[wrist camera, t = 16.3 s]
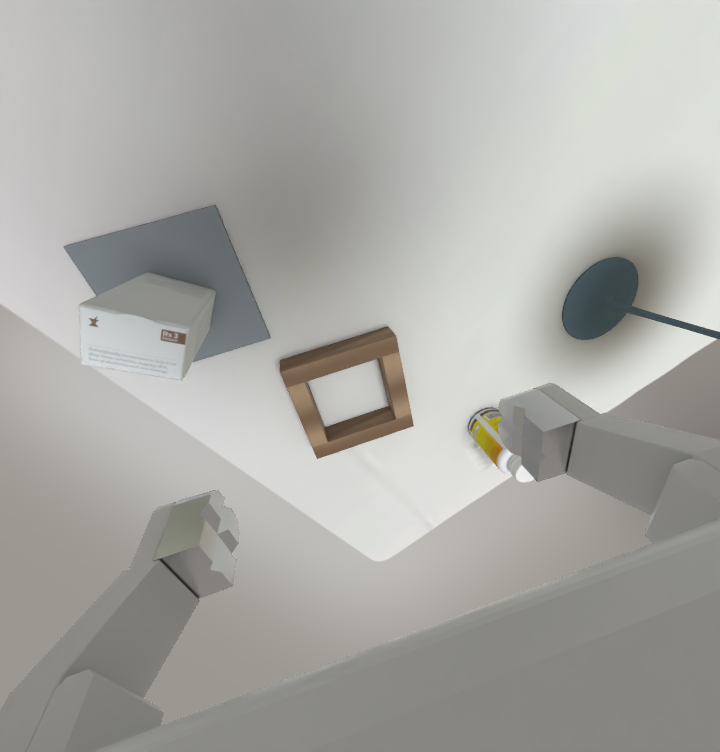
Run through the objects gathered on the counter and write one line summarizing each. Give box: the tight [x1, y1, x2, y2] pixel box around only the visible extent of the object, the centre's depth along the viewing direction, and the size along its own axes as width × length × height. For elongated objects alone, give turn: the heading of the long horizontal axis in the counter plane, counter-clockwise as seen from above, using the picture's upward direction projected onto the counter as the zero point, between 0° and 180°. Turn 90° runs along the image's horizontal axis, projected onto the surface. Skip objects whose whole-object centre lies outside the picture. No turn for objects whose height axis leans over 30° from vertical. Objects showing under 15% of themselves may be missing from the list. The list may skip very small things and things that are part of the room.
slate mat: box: [64, 205, 270, 362], centre depth 31 cm, size 13×13×1 cm
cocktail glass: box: [563, 258, 720, 340], centre depth 31 cm, size 18×18×25 cm
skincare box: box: [79, 272, 216, 380], centre depth 25 cm, size 6×4×12 cm
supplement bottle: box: [469, 409, 534, 482], centre depth 43 cm, size 6×6×10 cm
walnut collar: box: [280, 327, 414, 459], centre depth 38 cm, size 13×13×3 cm
